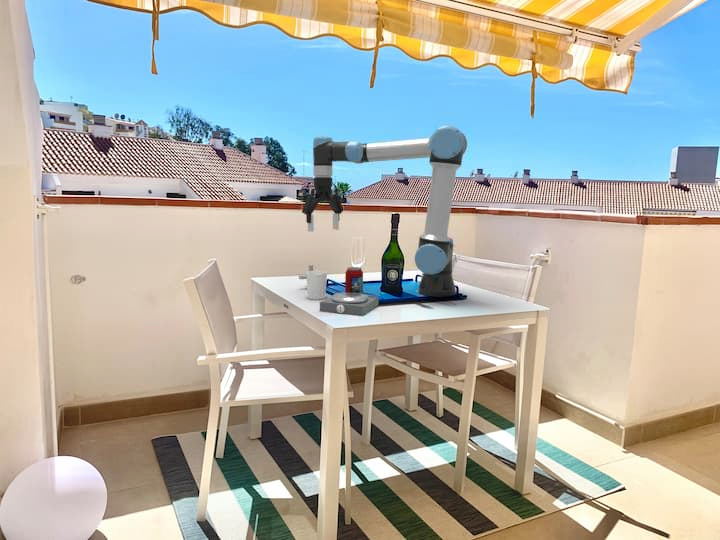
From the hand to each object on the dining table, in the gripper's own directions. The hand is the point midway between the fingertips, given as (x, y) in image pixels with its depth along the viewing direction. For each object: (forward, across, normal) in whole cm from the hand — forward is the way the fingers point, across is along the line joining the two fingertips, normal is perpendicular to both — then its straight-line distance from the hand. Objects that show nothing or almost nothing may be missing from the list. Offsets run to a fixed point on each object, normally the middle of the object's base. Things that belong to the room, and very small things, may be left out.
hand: (323, 230), depth 200 cm
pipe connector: (+25, 0, -8) cm, 26 cm away
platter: (+22, +13, +28) cm, 37 cm away
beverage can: (+25, +1, +19) cm, 32 cm away
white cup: (+25, +10, +7) cm, 28 cm away
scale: (+25, +13, +28) cm, 39 cm away
